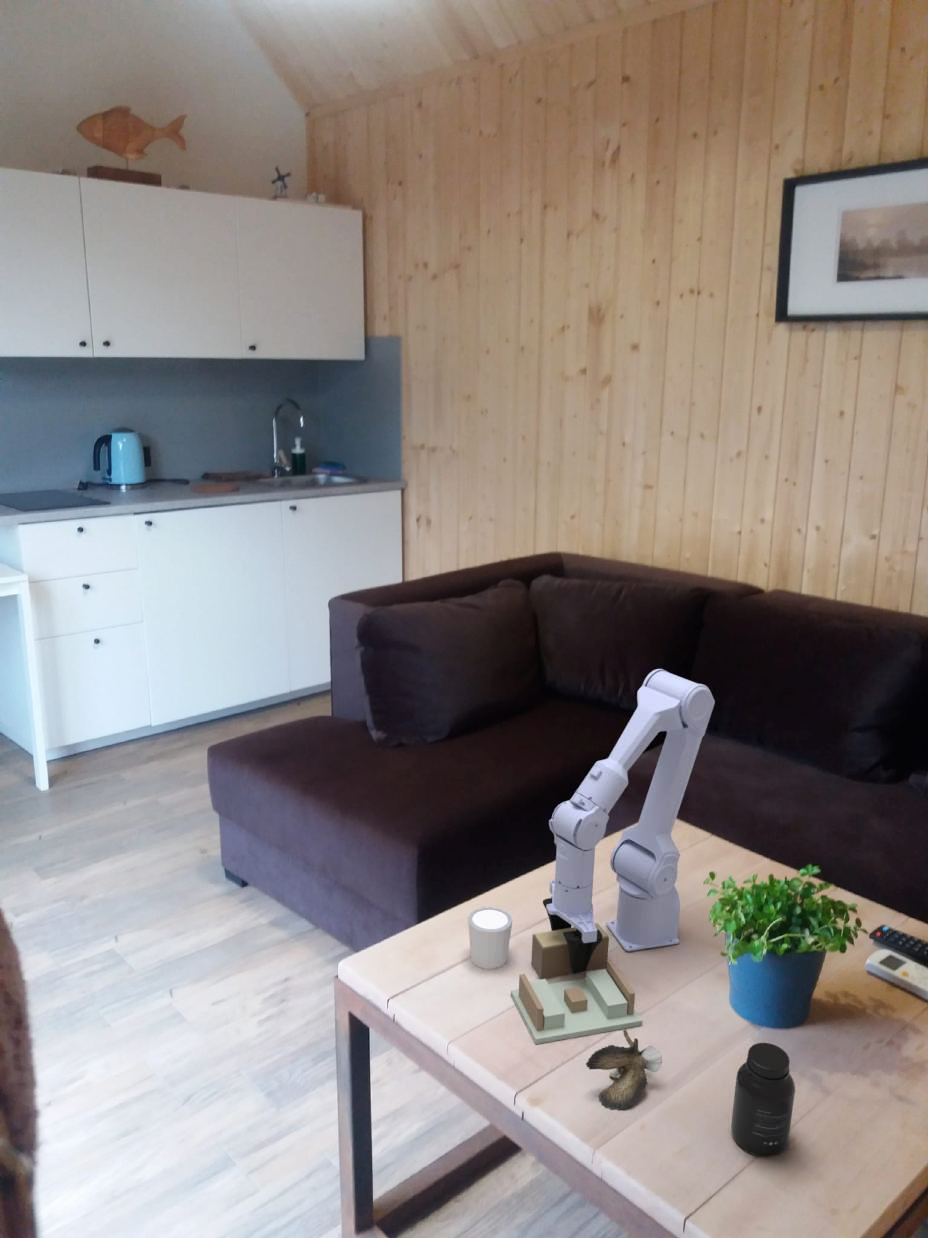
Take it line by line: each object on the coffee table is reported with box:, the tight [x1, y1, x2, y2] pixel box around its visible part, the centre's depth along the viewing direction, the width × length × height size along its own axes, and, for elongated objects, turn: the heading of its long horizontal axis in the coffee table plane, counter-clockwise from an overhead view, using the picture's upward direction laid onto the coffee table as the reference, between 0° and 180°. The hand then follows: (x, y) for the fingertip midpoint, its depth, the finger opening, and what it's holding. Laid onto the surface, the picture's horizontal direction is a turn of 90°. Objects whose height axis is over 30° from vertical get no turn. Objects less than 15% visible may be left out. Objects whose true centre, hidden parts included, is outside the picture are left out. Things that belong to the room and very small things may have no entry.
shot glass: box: [467, 907, 513, 970], centre depth 156 cm, size 7×7×7 cm
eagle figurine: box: [585, 1028, 663, 1111], centre depth 130 cm, size 8×7×9 cm
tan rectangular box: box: [530, 922, 610, 980], centre depth 155 cm, size 11×4×6 cm, turn 108°
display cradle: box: [510, 959, 643, 1045], centre depth 145 cm, size 16×11×4 cm
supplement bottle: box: [730, 1042, 796, 1158], centre depth 122 cm, size 7×7×12 cm
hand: (569, 957), depth 155 cm, fingers open, 7 cm apart
